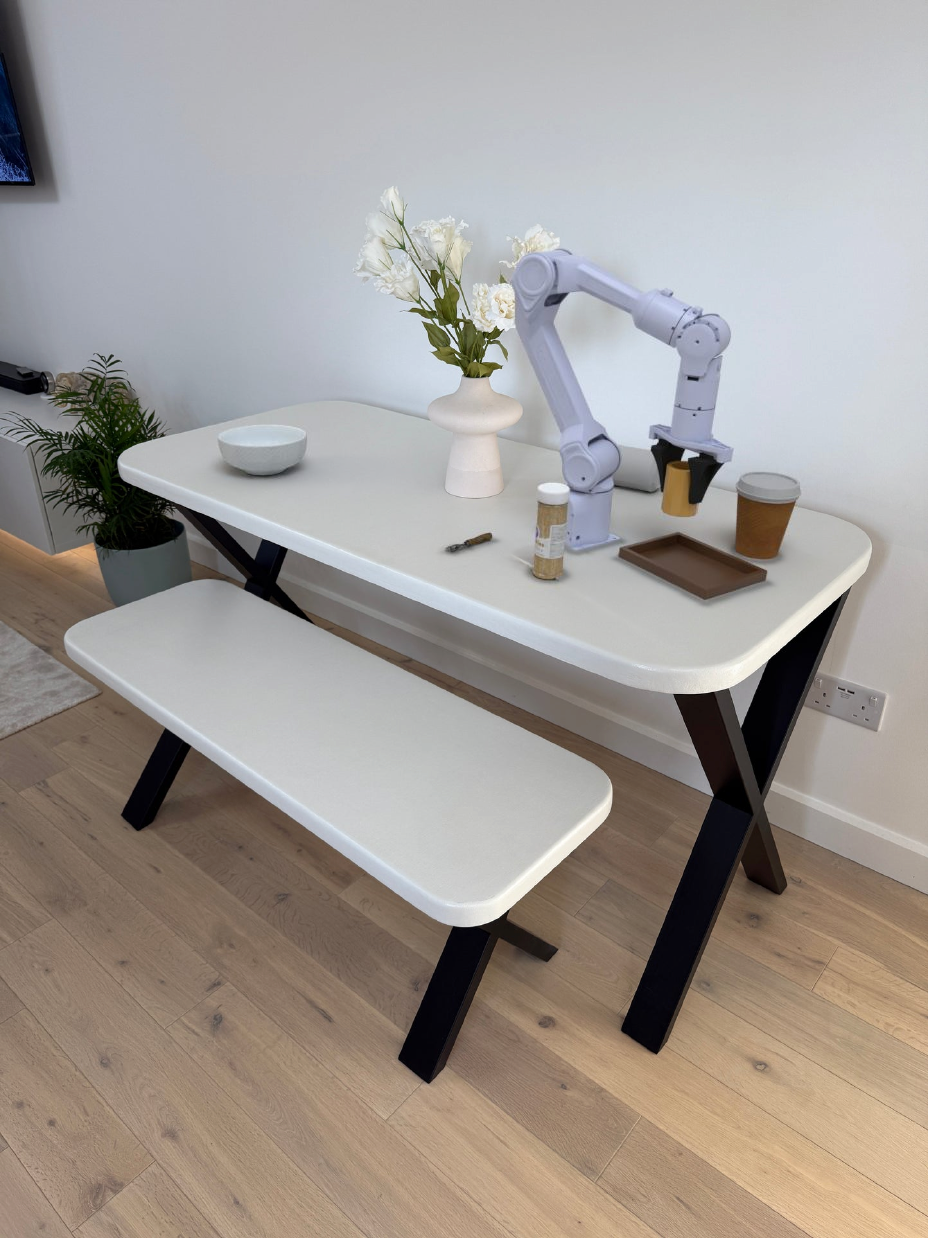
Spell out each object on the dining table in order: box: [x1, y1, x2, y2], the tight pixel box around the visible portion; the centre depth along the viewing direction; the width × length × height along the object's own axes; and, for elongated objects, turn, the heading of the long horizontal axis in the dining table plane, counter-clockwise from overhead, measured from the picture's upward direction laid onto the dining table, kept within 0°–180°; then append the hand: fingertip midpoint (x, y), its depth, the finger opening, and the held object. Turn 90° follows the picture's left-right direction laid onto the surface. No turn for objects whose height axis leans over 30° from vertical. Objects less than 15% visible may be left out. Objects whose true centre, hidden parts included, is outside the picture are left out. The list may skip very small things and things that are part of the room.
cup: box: [660, 460, 700, 518], centre depth 126 cm, size 5×5×7 cm
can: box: [613, 444, 661, 493], centre depth 160 cm, size 8×8×12 cm
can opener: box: [445, 532, 493, 552], centre depth 134 cm, size 9×2×1 cm, turn 125°
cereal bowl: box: [217, 424, 308, 476], centre depth 165 cm, size 17×17×7 cm
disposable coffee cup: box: [734, 471, 802, 561], centre depth 130 cm, size 10×10×12 cm
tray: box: [618, 531, 768, 601], centre depth 127 cm, size 13×18×2 cm
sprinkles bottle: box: [532, 482, 570, 580], centre depth 122 cm, size 5×5×14 cm
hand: (681, 497), depth 127 cm, fingers closed on cup, 5 cm apart
